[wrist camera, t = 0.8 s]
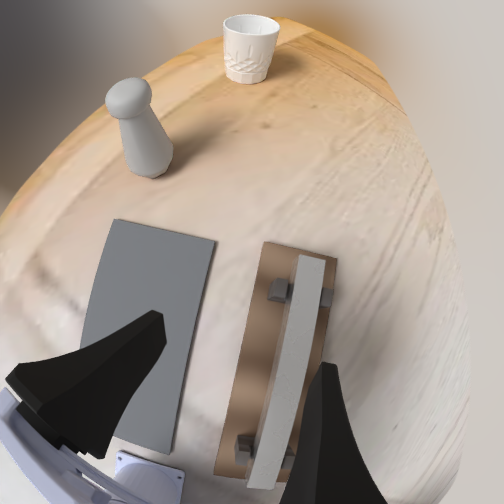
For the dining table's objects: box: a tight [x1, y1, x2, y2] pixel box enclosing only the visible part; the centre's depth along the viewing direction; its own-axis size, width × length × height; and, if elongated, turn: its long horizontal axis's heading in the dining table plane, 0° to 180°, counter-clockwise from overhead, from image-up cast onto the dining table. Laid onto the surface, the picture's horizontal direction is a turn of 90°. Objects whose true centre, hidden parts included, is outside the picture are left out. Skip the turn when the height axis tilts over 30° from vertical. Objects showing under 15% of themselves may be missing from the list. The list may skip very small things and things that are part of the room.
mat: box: [80, 219, 215, 455], centre depth 25 cm, size 24×12×1 cm, turn 168°
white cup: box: [223, 14, 280, 84], centre depth 32 cm, size 8×8×10 cm
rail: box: [245, 254, 326, 490], centre depth 21 cm, size 22×2×2 cm, turn 168°
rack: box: [214, 241, 337, 482], centre depth 23 cm, size 26×8×5 cm, turn 168°
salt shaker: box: [105, 77, 173, 179], centre depth 24 cm, size 6×6×13 cm
